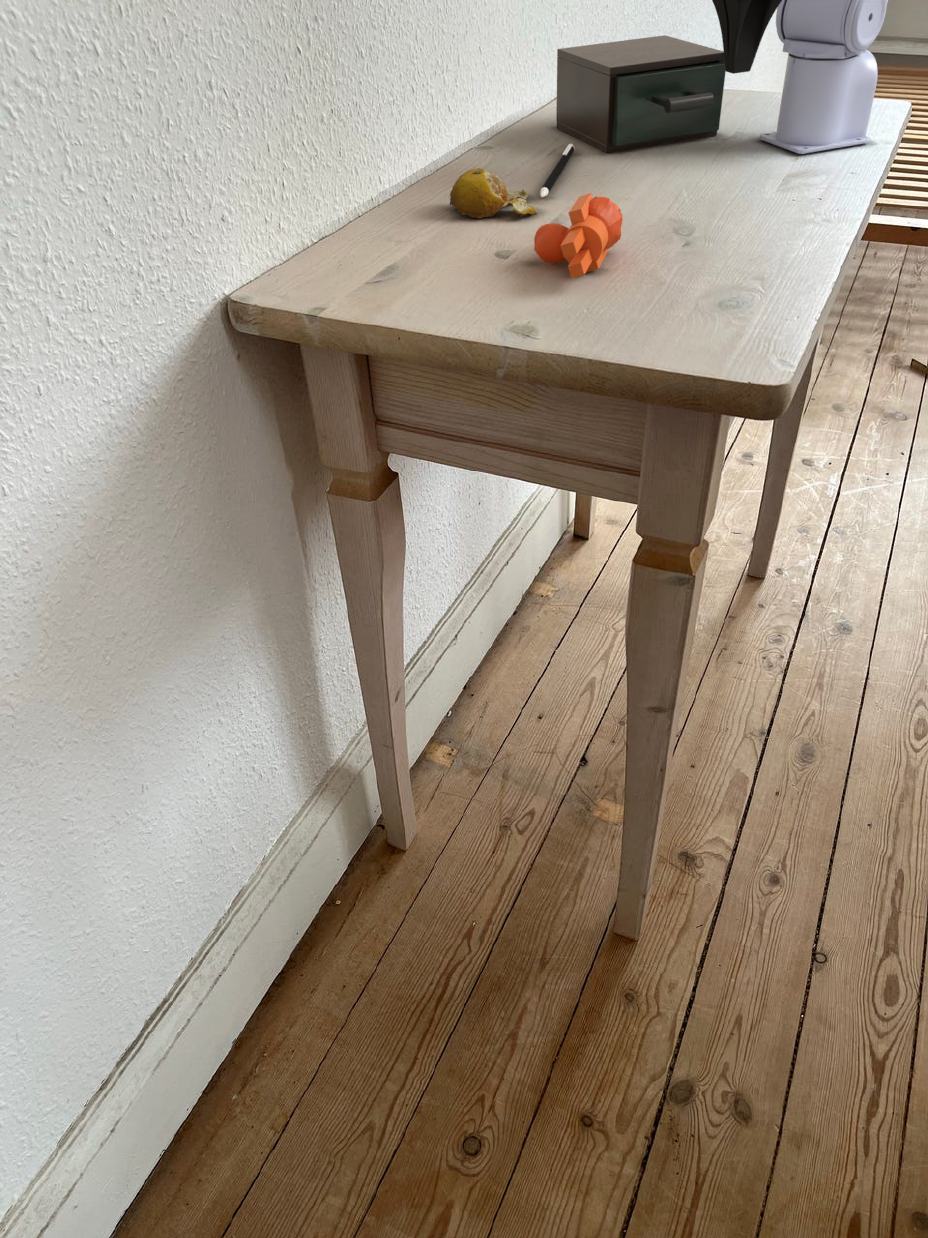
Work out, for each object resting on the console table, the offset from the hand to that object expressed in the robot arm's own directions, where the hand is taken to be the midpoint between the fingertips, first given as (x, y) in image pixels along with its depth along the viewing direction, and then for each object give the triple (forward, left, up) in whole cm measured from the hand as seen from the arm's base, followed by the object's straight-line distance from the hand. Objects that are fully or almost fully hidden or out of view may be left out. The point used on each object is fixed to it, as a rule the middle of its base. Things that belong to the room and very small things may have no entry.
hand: (737, 71), depth 94 cm
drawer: (0, -16, -8) cm, 18 cm away
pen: (+16, -8, -9) cm, 20 cm away
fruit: (+26, 0, -10) cm, 28 cm away
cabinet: (0, -20, -9) cm, 22 cm away
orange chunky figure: (+26, +17, -10) cm, 33 cm away
